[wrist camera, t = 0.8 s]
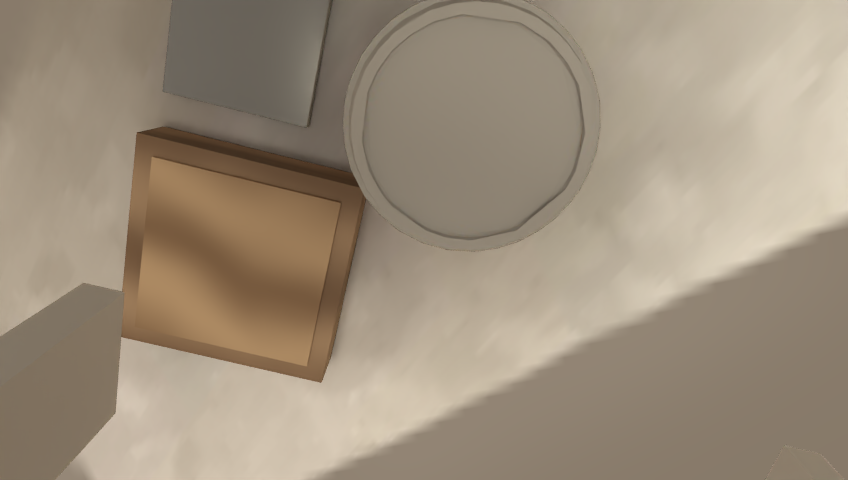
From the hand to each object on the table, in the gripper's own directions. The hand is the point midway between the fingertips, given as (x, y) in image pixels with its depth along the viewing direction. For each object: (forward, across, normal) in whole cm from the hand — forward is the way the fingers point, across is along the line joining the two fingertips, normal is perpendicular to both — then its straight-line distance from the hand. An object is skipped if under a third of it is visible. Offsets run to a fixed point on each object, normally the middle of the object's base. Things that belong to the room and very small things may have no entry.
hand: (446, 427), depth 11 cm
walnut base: (+22, -10, -7) cm, 25 cm away
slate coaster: (+22, -12, +5) cm, 26 cm away
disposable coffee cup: (+23, 0, +4) cm, 23 cm away
